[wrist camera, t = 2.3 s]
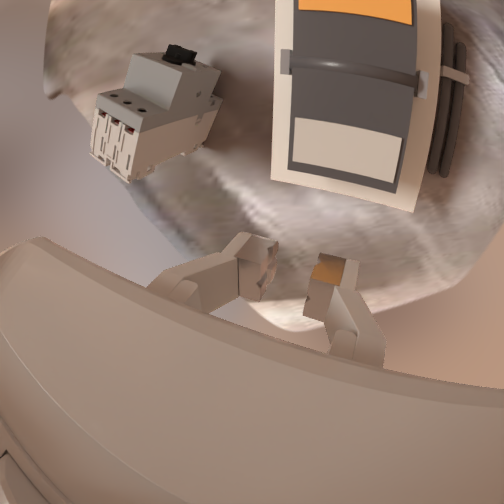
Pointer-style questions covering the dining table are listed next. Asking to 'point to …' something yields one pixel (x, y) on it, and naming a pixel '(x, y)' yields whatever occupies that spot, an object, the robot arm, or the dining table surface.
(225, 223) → the dining table surface
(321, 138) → the block
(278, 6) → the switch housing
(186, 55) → the circuit breaker
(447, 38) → the dark grey piece
